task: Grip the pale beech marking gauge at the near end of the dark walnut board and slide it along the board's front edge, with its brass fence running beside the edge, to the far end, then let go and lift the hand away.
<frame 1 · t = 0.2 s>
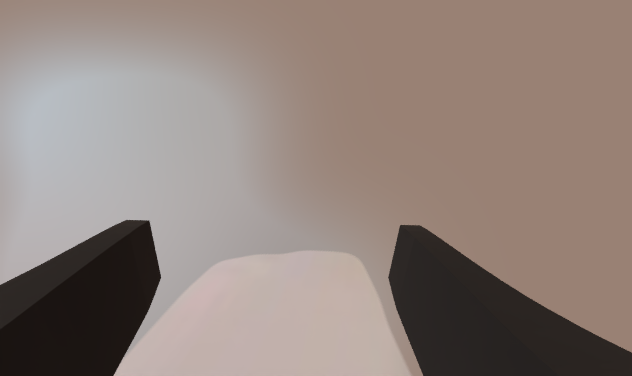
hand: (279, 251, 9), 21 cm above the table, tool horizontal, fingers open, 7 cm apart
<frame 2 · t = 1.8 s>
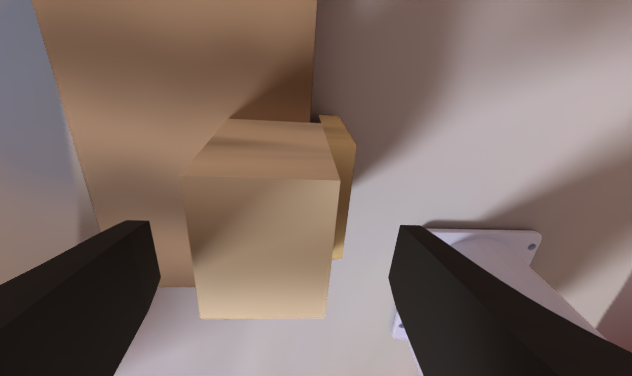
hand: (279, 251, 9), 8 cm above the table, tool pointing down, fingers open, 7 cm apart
marking gauge: (274, 174, 14), point 2 cm above the table, touching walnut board
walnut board: (201, 74, 14), on the table
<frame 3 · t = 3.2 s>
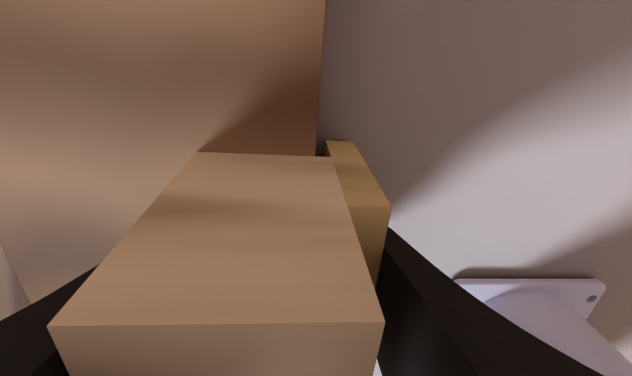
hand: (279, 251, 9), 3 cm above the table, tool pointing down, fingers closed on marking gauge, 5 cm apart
marking gauge: (265, 224, 10), point 2 cm above the table, touching gripper, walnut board
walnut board: (161, 85, 10), on the table
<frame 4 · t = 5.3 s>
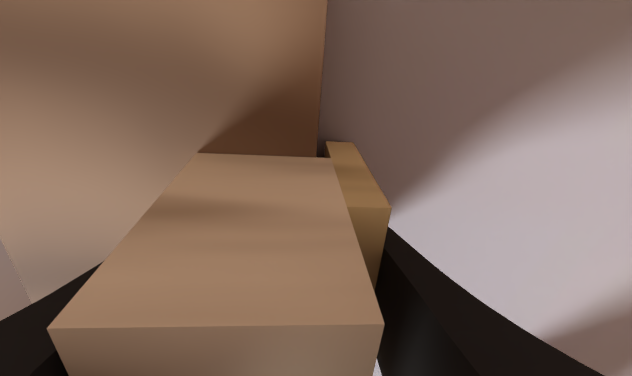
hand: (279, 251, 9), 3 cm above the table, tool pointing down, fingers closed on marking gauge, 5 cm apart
marking gauge: (265, 225, 10), point 2 cm above the table, touching gripper
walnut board: (189, 263, 13), on the table
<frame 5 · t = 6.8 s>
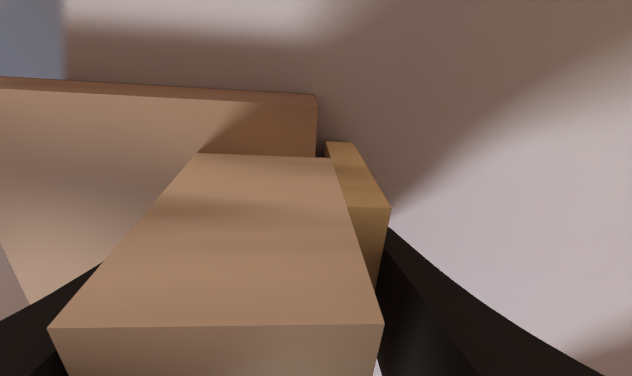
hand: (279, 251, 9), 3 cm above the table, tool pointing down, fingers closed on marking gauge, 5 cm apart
marking gauge: (265, 225, 10), point 2 cm above the table, touching gripper, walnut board
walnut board: (197, 321, 15), on the table
when the fingers open (3 cm above the table, at t = 7.6 s): marking gauge stays where it is, resting on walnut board.
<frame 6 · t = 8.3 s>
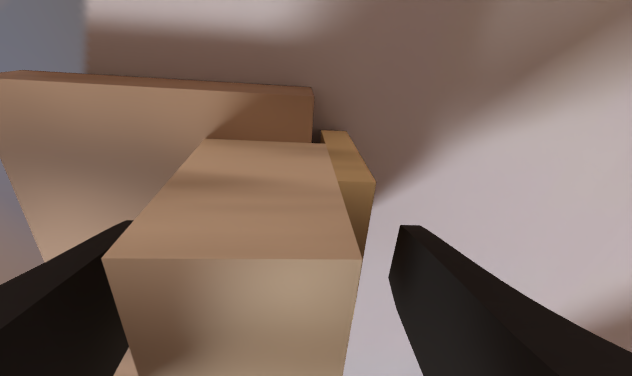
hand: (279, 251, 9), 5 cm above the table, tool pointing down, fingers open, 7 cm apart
marking gauge: (266, 206, 11), point 2 cm above the table, touching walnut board
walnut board: (203, 300, 16), on the table
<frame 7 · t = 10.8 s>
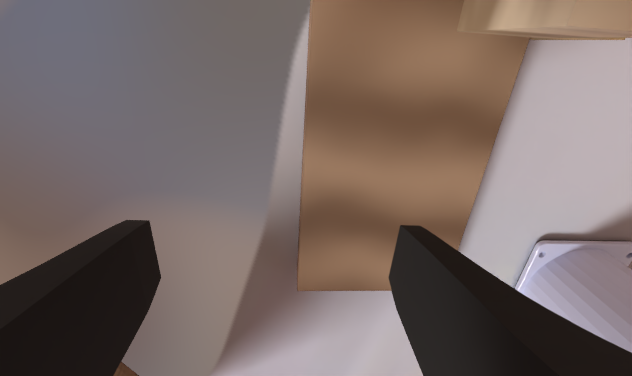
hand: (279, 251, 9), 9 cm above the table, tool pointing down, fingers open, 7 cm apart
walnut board: (392, 119, 17), on the table
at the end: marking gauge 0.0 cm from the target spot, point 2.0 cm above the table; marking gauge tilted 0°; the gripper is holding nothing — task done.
